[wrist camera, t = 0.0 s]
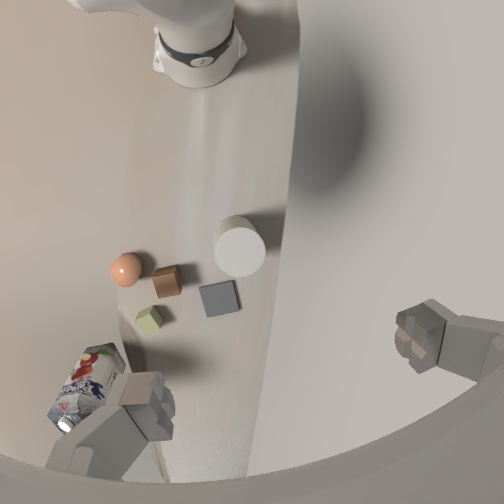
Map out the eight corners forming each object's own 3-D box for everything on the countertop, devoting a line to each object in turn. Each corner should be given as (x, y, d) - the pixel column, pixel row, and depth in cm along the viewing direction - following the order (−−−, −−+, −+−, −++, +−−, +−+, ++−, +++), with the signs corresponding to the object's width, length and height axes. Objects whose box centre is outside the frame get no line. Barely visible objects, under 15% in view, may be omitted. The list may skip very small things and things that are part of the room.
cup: (246, 209, 55) (254, 219, 44) (261, 246, 58) (272, 265, 46) (208, 225, 55) (205, 239, 44) (224, 261, 58) (226, 284, 46)
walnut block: (156, 268, 56) (151, 277, 52) (177, 264, 57) (173, 272, 52) (162, 288, 58) (158, 298, 53) (182, 284, 58) (180, 294, 53)
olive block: (139, 312, 58) (134, 320, 55) (153, 305, 58) (149, 313, 55) (148, 326, 60) (145, 335, 56) (162, 319, 60) (159, 328, 56)
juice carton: (131, 366, 62) (104, 449, 36) (99, 371, 62) (66, 447, 36) (115, 337, 59) (76, 418, 34) (82, 344, 59) (39, 418, 33)
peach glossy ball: (113, 256, 54) (106, 261, 51) (138, 249, 55) (133, 255, 51) (121, 282, 56) (116, 289, 52) (146, 276, 57) (142, 284, 53)
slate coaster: (199, 287, 58) (199, 288, 58) (232, 280, 59) (232, 281, 58) (207, 315, 60) (207, 317, 60) (238, 309, 61) (239, 311, 60)
